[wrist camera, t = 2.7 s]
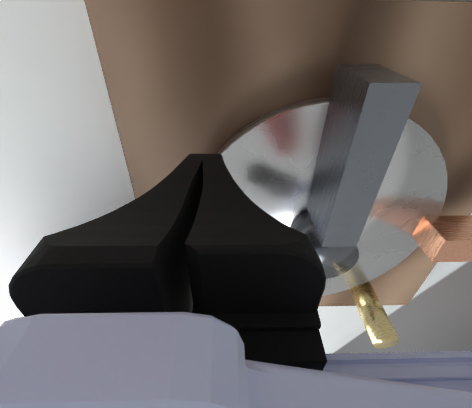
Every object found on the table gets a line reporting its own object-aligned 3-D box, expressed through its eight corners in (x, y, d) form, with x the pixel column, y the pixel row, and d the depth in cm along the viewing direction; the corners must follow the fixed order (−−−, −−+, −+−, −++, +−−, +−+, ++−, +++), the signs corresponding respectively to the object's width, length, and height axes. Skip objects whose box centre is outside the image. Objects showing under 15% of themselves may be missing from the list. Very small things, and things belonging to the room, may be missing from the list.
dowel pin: (343, 283, 21) (369, 348, 17) (348, 270, 21) (377, 336, 17) (362, 283, 22) (393, 348, 18) (369, 270, 21) (403, 335, 17)
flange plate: (202, 287, 20) (198, 341, 17) (180, 57, 11) (161, 80, 8) (410, 285, 21) (442, 336, 18) (556, 61, 12) (680, 85, 8)
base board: (167, 293, 24) (164, 308, 23) (97, -6, 11) (82, -6, 10) (398, 289, 25) (407, 304, 24) (577, 3, 12) (616, 4, 11)
